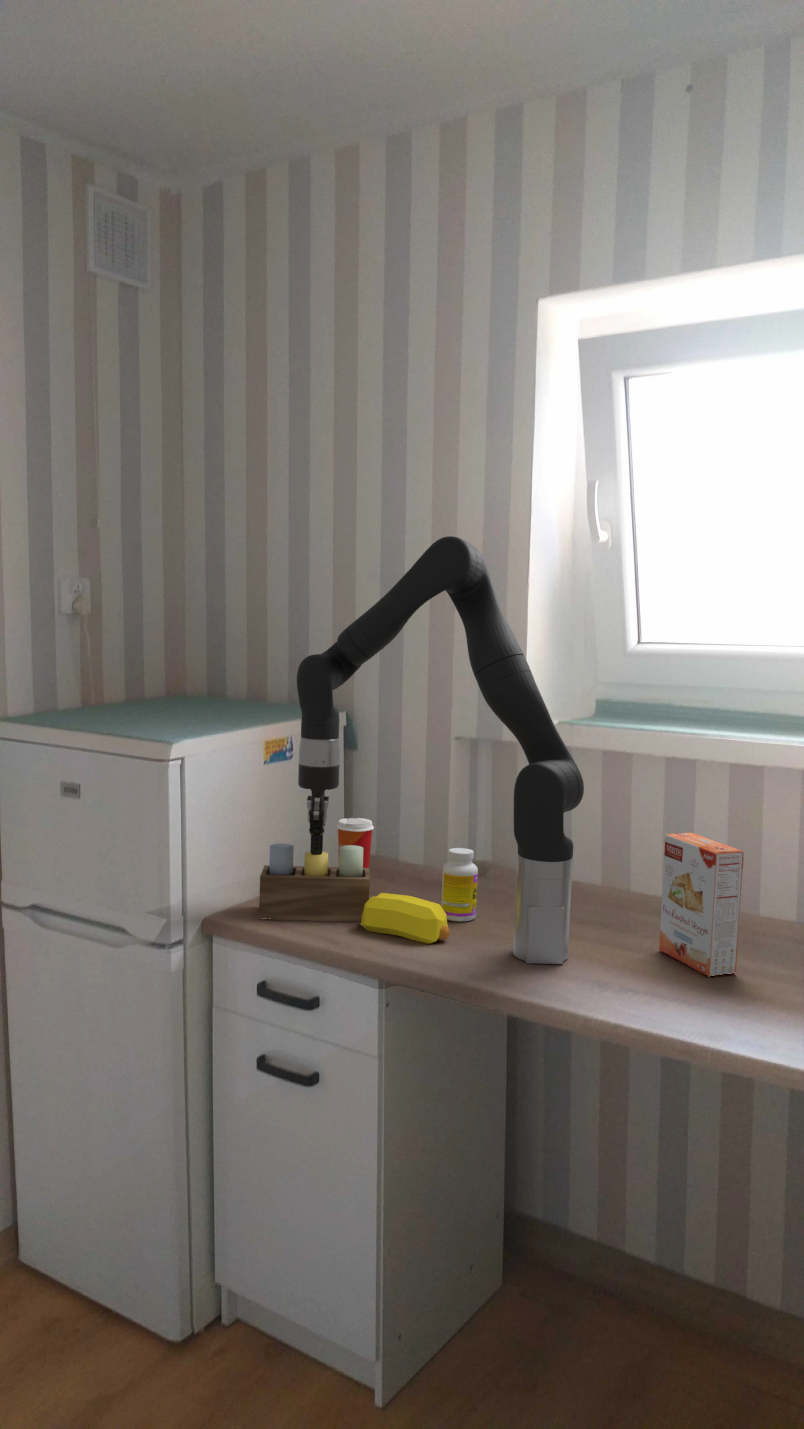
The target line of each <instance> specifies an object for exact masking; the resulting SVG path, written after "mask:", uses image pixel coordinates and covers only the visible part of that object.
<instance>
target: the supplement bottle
mask: <svg viewBox="0 0 804 1429" xmlns="http://www.w3.org/2000/svg"><path fill="white" fill-rule="evenodd" d="M474 854H475V852H474V850H473V849H469V848H465V847H453V848H450V849H448V854H447V856H448V858H449V861H447V862H445V864H444V865H443V866H442V878H441V879H442V881H441V884H442V885H441V904H440V906H441V907H442V909H443V910H444V912H445V913H446V916H447V921H452V922H459V923H461V922H469V921H473V920H474V919H475V918H476V916H477V904H478V902H477V901H478V876H479V869H478V866H477V865H476V864H475V863H473V859H474V857H475V856H474Z"/></svg>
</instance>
